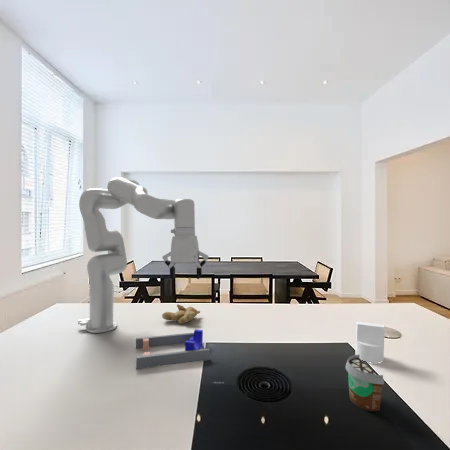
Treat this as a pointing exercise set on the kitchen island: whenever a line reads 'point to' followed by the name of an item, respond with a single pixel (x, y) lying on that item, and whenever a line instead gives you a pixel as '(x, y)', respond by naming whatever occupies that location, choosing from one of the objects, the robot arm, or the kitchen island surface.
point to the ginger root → (181, 314)
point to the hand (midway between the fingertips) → (185, 278)
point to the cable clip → (195, 341)
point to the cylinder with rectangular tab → (370, 341)
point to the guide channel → (168, 358)
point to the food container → (364, 384)
